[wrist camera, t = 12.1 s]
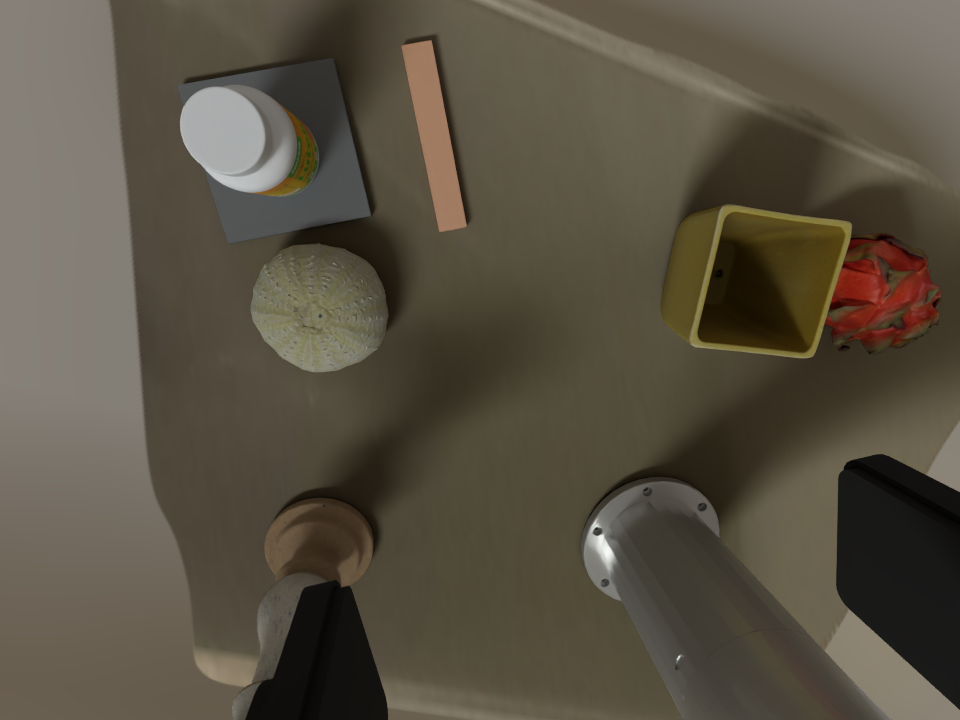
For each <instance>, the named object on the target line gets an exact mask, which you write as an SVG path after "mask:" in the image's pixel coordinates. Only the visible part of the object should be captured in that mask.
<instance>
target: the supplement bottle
mask: <svg viewBox="0 0 960 720" xmlns="http://www.w3.org/2000/svg"><path fill="white" fill-rule="evenodd" d="M180 129H181V135H182V139H183V141H184V144H185V146H186V148H187V150H188V151H189V152H190V154H191V155H192V156H193V157H194V159H195V160H196V161H197V162H199V163H200V164H201V165H202V166H203V167H204V169H205V170H206V171H207V172H208V173H209V174H210V175H211V176H212V177H213V178H214V179H216V180H217V181H219V182H220V183H222V184H223V185H225V186H227V187H229V188H232V189H235V190H238V191H242V192H247V193H254V194H262V195H269V196H276V197H286V196H291V195H295V194H297V193H299V192H301V191H303V190H304V189H305V188H307V187H308V186H309V185H310V183H311V182H312V181H313V179H314V177H315V175H316V173H317V170H318V165H319V152H318V147H317V144H316V141H315V139H314V137H313V135H312V133H311V132H310V130H309V129H308V128H307V126H306V125H305V124H304V123H303V122H302V121H301V120H299V119H298V118H297V117H296V116H294V115H293V114H292V113H291V112H289V111H288V110H287V109H286V108H284V107H283V106H282V105H280V104H279V103H278V102H277V101H275V100H274V99H273V98H271V97H270V96H268V95H267V94H265V93H263V92H262V91H260V90H257V89H255V88H252V87H249V86H244V85H227V86H222V87H219V86H214V87H208V88H204V89H202V90H200V91H198V92H196V93H195V94H193V95H192V96H191V97H190V98H189V99H188V101H187V102H186V104H185V106H184V108H183V110H182V113H181V119H180Z"/></svg>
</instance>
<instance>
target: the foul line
mask: <svg viewBox="0 0 960 720" xmlns="http://www.w3.org/2000/svg"><path fill="white" fill-rule="evenodd" d="M401 46H402V52H403V57H404V62H405V67H406V71H407V76H408V81H409V86H410V91H411V96H412V101H413V106H414V110H415V115H416V120H417V125H418V130H419V135H420V140H421V145H422V150H423V154H424V159H425V164H426V169H427V174H428V179H429V184H430V189H431V193H432V198H433V203H434V208H435V213H436V218H437V223H438V228H439V232H443V231H448V230H453V229H458V228H463V227H467V225H466V220H465V214H464V209H463V204H462V199H461V193H460V188H459V183H458V177H457V172H456V167H455V161H454V156H453V151H452V146H451V140H450V135H449V130H448V124H447V119H446V114H445V109H444V103H443V98H442V93H441V87H440V82H439V77H438V72H437V66H436V61H435V56H434V50H433V45H432V40H429V41H424V42H418V43H412V44H407V45H401Z"/></svg>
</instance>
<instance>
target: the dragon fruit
mask: <svg viewBox="0 0 960 720" xmlns="http://www.w3.org/2000/svg"><path fill="white" fill-rule="evenodd" d="M927 267H928V260H927V256H926V255H925V253H924V251H922V250H921V249H916V248H912V247H910V246H908V245H906V244H904V243H903V242H901V241H900V240H898V239H895V237H893V236H891V235H889V234H886V233H876V234H871V235H852V236H851V239H850V243H849V245H848V249H847V252H846V255H845V258H844V262H843V265H842V268H841V271H840V274H839V277H838V280H837V284H836V287H835V290H834V293H833V296H832V300H831V303H830V307H829V310H828V313H827V317H826V320H825V324H824V325H828V326H832V327H833V330H832V332H831V336H832V344H833V345H834V346H835V347H836V348H837V349H838V350H839V351H846V350H848V349H849V348H850V347H849V346H844V344H846V343H848V342H850V341H852V340H855V339H859V340H861V341H862V344H863V346H864V348H865V349H866V350H867V351H868V352H869V354H876V353H880V352H882V351H884V350H886V349H887V348H888V347H889V346H891V347H893V348H902V347H904V346H906V345H907V344H908V343H910V342H913V341H914V340H916V339H917V338H918V337H921V336H923V335H924V334H926V333H928V332H929V330H928V328H929V327H930V328H931V326H932V325H938V323H939V312H938V311H937V310H936V309H935V307H936V305H937V304H938V303H939V301H940V300H941V298H942V293H941V289H940V287H939V286H936V285H933V284H932V282H931V279H930V275H929V273H930V271H929V270H927Z"/></svg>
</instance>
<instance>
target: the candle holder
mask: <svg viewBox="0 0 960 720" xmlns="http://www.w3.org/2000/svg"><path fill="white" fill-rule="evenodd" d="M264 549H265V557H266V560H267V563H268V565H269V567H270V569H271V570H272V572H273V573H274V574H275V575H276V579H275V583H274V584H273V585H272V586H271V587H270V588H269V589H268V590H267V592H266V593H265V594H264V596H263V598H262V600H261V602H260V604H259V608H258V612H257V634H258V639H259V643H260V658H259V662H258V665H257V668H256V672H255V675H254V678H253V680H252V683H251V684H250V685H248V686H246V687H245V688H243V689H242V690H241V691H240V692H239V693H238V694H237V696H236V698H235V700H234V702H233V708H232V714H233V718H234V720H245V719H246V716H247V713H248V710H249V708H250V705H251V702H252V699H253V696H254V694H255V692H256V690H257V688H258V686H259V685H260V684H261V683H262V682H263V681H264V680H268V679H272V678H273V677H274V674H275V671H276V668H277V665H278V662H279V659H280V656H281V653H282V650H283V647H284V644H285V641H286V638H287V635H288V632H289V629H290V626H291V622H292V619H293V616H294V613H295V610H296V607H297V604H298V601H299V598H300V595H301V592H302V590H303V588H305V587H307V586H311V585H315V584H320V583H324V582H328V581H332V580H337V581H338V582H339V583H340V585H341V587H344V586H350V585H352V584H353V583H355V582H356V581H357V580H358V579H359V578H360V577H361V576H362V575H363V574H364V573H365V572H366V570H367V568H368V566H369V565H370V562H371V559H372V556H373V550H374V538H373V533H372V530H371V527H370V525H369V523H368V522H367V520H366V519H365V518H364V516H363V515H362V514H361V513H360V512H359V511H358V510H356V509H355V508H354V507H352V506H350V505H349V504H347V503H344V502H342V501H339V500H335V499H331V498H310V499H305V500H302V501H299V502H296V503H294V504H292V505H290V506H289V507H287V508H286V509H284V510H283V511H282V512H281V513H280V514H279V515H278V516H277V517H276V518H275V520H274V521H273V522H272V524H271V526H270V528H269V530H268V532H267V535H266V539H265V546H264Z"/></svg>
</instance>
